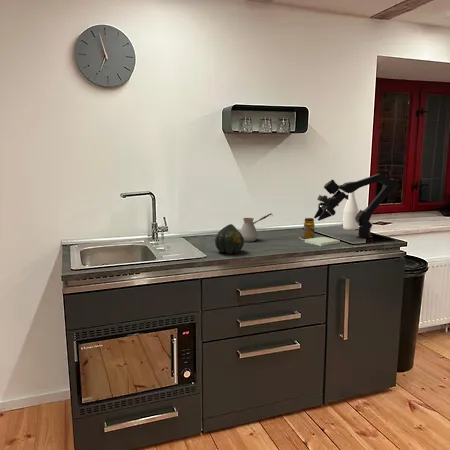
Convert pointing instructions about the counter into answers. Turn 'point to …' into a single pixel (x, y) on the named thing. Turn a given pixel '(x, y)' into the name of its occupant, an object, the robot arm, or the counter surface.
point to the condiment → (308, 229)
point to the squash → (229, 240)
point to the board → (322, 241)
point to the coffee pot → (250, 229)
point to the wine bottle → (350, 213)
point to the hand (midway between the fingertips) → (316, 219)
